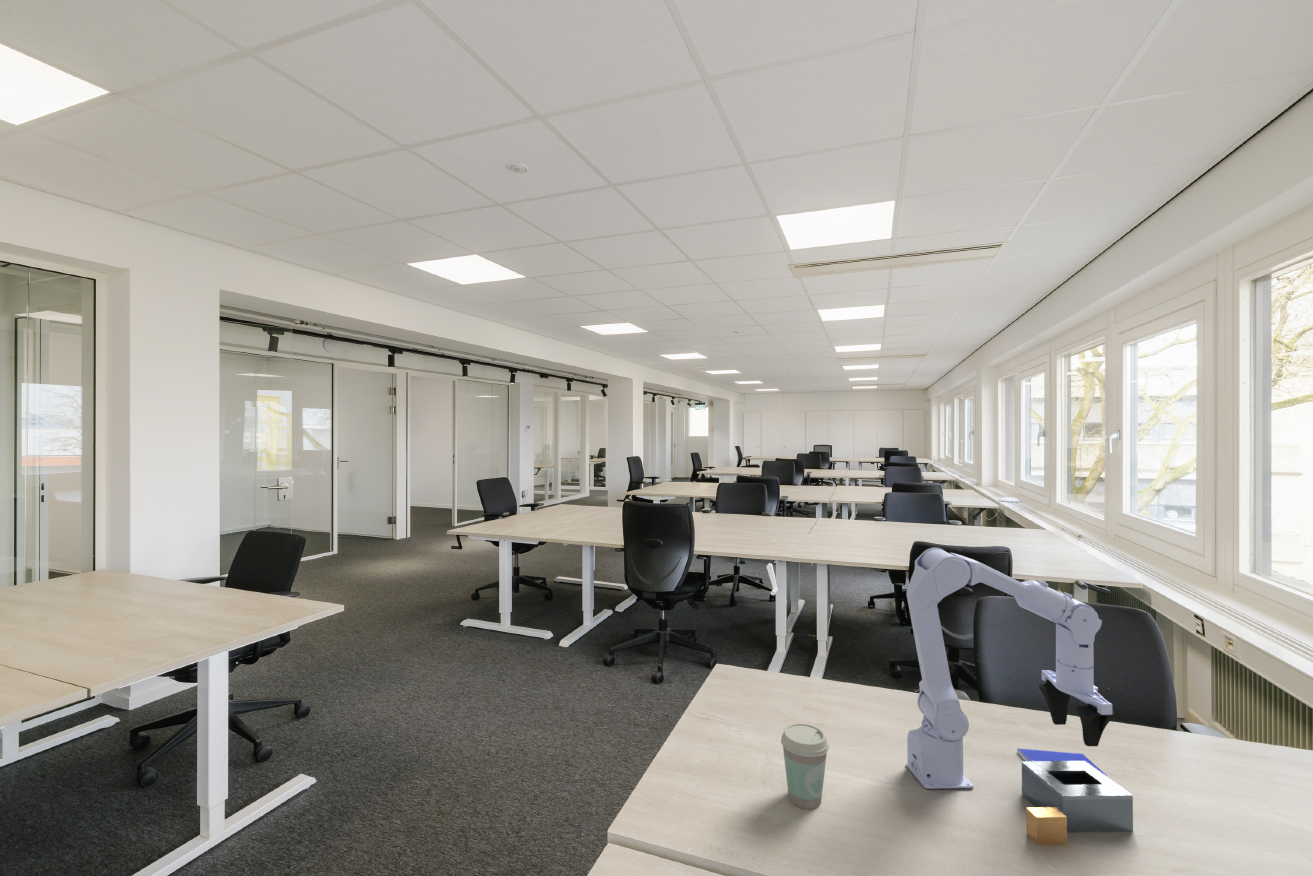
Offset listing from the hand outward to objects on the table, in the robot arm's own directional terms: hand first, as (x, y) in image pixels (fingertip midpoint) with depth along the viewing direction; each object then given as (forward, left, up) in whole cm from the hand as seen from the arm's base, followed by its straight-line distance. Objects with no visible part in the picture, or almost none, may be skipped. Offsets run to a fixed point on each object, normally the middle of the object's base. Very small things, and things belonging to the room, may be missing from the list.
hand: (1074, 734), depth 104 cm
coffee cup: (-53, -3, -10) cm, 54 cm away
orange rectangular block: (-16, -14, -10) cm, 23 cm away
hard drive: (+2, +6, -11) cm, 13 cm away
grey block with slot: (-6, -7, -10) cm, 13 cm away
